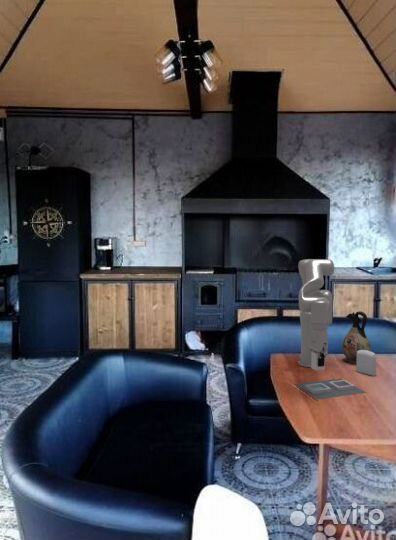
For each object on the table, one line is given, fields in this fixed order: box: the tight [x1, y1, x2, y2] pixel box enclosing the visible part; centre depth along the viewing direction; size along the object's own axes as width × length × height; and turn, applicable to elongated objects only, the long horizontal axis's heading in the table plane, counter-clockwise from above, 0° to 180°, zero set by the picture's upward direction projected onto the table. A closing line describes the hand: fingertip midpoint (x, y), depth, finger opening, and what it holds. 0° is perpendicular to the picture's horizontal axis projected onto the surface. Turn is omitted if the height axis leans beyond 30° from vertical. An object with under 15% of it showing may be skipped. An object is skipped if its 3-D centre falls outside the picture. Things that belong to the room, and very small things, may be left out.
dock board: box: [294, 378, 367, 402], centre depth 206 cm, size 20×26×2 cm
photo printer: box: [355, 350, 377, 377], centre depth 229 cm, size 10×4×12 cm, turn 39°
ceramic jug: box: [341, 311, 372, 364], centre depth 248 cm, size 17×15×30 cm
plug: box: [310, 351, 327, 371], centre depth 203 cm, size 4×6×8 cm
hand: (318, 364), depth 203 cm, fingers closed on plug, 4 cm apart
